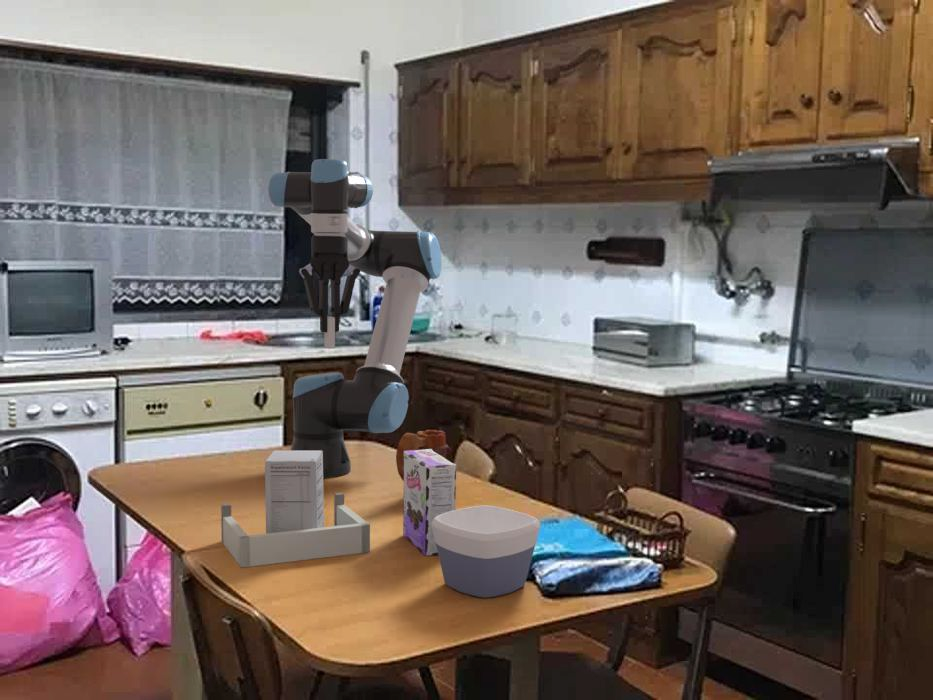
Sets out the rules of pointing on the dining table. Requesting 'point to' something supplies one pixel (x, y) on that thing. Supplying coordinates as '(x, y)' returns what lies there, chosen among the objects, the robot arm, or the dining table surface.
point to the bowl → (485, 549)
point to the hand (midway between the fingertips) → (329, 347)
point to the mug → (421, 445)
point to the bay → (297, 539)
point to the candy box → (426, 495)
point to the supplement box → (294, 491)
